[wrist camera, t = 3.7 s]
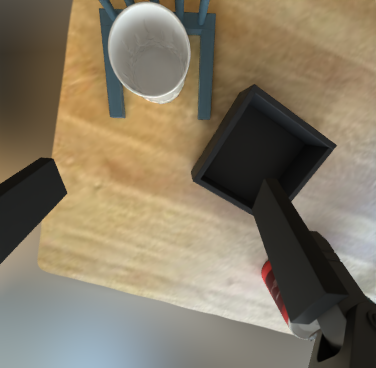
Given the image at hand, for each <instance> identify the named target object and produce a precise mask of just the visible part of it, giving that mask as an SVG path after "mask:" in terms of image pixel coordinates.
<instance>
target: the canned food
mask: <svg viewBox="0 0 376 368" xmlns="http://www.w3.org/2000/svg"><path fill="white" fill-rule="evenodd" d="M262 278H263V280H264V282H265V284H266V286H267V288H268V290H269V292H270V294H271V295H272V297H273V299H274V301H275V303H276V305H277V307H278V309H279V310H280V312H281V314H282V316H283V318H284V320H285V322H286V323H287V325H288V327H289V329H290V330H291V332H292V333H293V334H294V335H295V336H296V337H298V338H301V339H305V340H309V339H308V338H309V336H310V335H311V334H312V333H314V332H315V331H317V330H318V329H320V326H319V324H318V321H317V319H316V320H315V321H314V322H312V323H311V324H309V325H306V324H295V323H290V320H289V317H288V314H287V311H286V308H285V305H284V302H283V299H282V297H281V294H280V291H279V288H278V285H277V282H276V279H275V276H274V273H273V270H272V267H271V264H270V262H269V261H267V262H266V263H265V264H264V266H263V268H262ZM315 339H316V338H315ZM313 340H314V339H313Z"/></svg>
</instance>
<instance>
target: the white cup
mask: <svg viewBox="0 0 376 368" xmlns="http://www.w3.org/2000/svg"><path fill="white" fill-rule="evenodd" d="M108 54H109V59H110V63H111V66H112V68H113V70H114V72H115V74H116V76H117V77H118V79H119V80H120V81H121V83H122V84H123V85H124V86H125V87H126V88H128V89H129V90H130V91H132V92H133V93H135V94H137V95H139V96H141V97H142V98H144V99H146V100H149V101H151V102H155V103H159V104H164V103H169V102H171V101H172V100H174V99H175V98H176V97H178V95H179V93H180V91H181V90H182V88H183V85H184V82H185V79H186V75H187V71H188V68H189V63H190V43H189V39H188V35H187V33H186V30H185V28H184V26H183V24H182V23H181V21H180V20H179V19H178V17H177V16H176V15H175V14H174V13H173V12H172V11H170V10H169V9H168V8H166V7H164V6H163V5H160V4H158V3H154V2H138V3H135V4H132V5H130V6H128V7H127V8H125V9H124V10H123V11H122V12H121V13H120V14H119V15H118V16H117V18H116V19H115V21H114V23H113V25H112V27H111V30H110V33H109V38H108Z"/></svg>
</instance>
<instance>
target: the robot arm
mask: <svg viewBox="0 0 376 368" xmlns="http://www.w3.org/2000/svg"><path fill="white" fill-rule="evenodd" d="M66 194H67V191H66V188H65V186H64V184H63V181H62V179H61V176H60V174H59V171H58V169H57V166H56V164H55V162H54V159H52V158H39V159H38V160H36V161H35V162H33V163H32V164H30V165H29V166H27V167H26V168H24V169H23V170H21V171H19V172H18V173H16V174H15V175H13V176H12V177H10V178H9V179H7V180H5V181H4V182H2V183H1V184H0V264H1V263H2V262H3V261H4V260H5V258H6V257H8V255H9V254H10V253H11V252H12V251H13V250H14V249H15V248H16V247H17V246H18V245H19V244H20V243H21V242H22V241H23V240H24V238H26V236H27V235H28V234H29V233H30V232H31V231H32V230H33V229H34V228H35V227H36V226H37V225H38V224H39V223H40V222H41V221H42V220H43V219H44V217H45V216H46V215H47V214H48V213H49V212H50V211H51V210H52V209H53V208H54V207H55V206H56V205H57V204H58V203H59V202H60V201H61V200H62V199H63V197H64V196H65V195H66ZM252 212H253V215H254V218H255V221H256V224H257V226H258V229H259V232H260V235H261V238H262V241H263V244H264V247H265V250H266V253H267V256H268V259H269V262H270V264H271V267H272V270H273V273H274V276H275V279H276V282H277V285H278V288H279V291H280V294H281V297H282V299H283V302H284V305H285V308H286V311H287V314H288V317H289V320H290V323H295V324H306V325H309V324H311V323H312V322H314V321H315V320H316V319H317V321H318V324H319V326H320V329H318V330H317V331H315V332H314V333H312V334H311V335H310V336H309V338H308V339H309V340H311V341H312V340H313V339H315V338H316V339H315V343H314V347H313V351H312V355H311V359H310V363H309V367H308V368H376V304H374V303H371V302H370V301H369V300H368V299H367V298H366V296H365V295H364V293H363V292H362V291H361V289H360V288H359V286H358V285H357V283H356V282H355V280H354V279H353V278H352V276H351V275H350V273H349V272H348V270H347V269H346V267H345V266H344V264H343V263H342V262H340V259H339V257H338V256H337V254H336V253H334V250H333V249H332V247H331V246H330V244H329V243H328V241H327V240H326V239H325V238H324V237H322V236H321V235H320V234H319V233H318V232H317V231H309V230H308V228H307V226H306V225H305V223H304V222H303V220H302V218H301V217H300V215H299V214H298V212H297V210H296V209H295V207H294V206H293V204H292V202H291V201H290V199H289V198H288V196H287V195H286V193H285V191H284V190H283V188H282V187H281V185H280V183H279V182H278V180H277V179H271V178H264V180H263V183H262V185H261V188H260V191H259V193H258V196H257V198H256V201H255V203H254V206H253V208H252Z"/></svg>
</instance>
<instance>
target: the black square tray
mask: <svg viewBox="0 0 376 368" xmlns="http://www.w3.org/2000/svg"><path fill="white" fill-rule="evenodd" d="M336 146H337V145H336V144H334V143H333V142H332V141H330V140H329V139H328V138H326V137H325V136H324V135H322V134H321V133H320V132H318V131H317V130H316V129H314V128H313V127H312V126H310V125H309V124H308V123H306V122H305V121H303V120H302V119H301V118H299V117H298V116H297V115H295V114H294V113H293V112H291V111H290V110H289V109H287V108H286V107H285V106H283V105H282V104H281V103H279V102H278V101H277V100H275V99H274V98H273V97H271V96H270V95H269V94H267V93H266V92H264V91H263V90H262V89H260V88H259V87H258V86H256V85H255V84H254V85H252V86H250V87H249V88H247V89H245V90H244V91H242V92H240V93H239V95H238V96H237V98H236V100H235V101H234V103H233V105H232V106H231V108H230V109H229V111H228V113H227V114H226V116H225V117H224V119H223V121H222V122H221V124H220V126H219V127H218V129H217V130H216V132H215V134H214V135H213V137H212V138H211V140H210V142H209V143H208V145H207V146H206V148H205V150H204V151H203V153H202V155H201V156H200V158H199V159H198V161H197V163H196V164H195V166H194V167H193V169H192V171H191V175H192V179H193V182H195V183H197V184H199V185H200V186H202V187H204V188H206V189H207V190H209V191H211V192H213V193H214V194H216V195H218V196H220V197H221V198H223V199H225V200H227V201H228V202H230V203H232V204H234V205H235V206H237V207H239V208H241V209H242V210H244V211H246V212H248V213H249V214H251V215H253V212H252V208H253V206H254V203H255V201H256V198H257V196H258V193H259V191H260V188H261V185H262V183H263V180H264V178H271V179H277V180H278V182H279V183H280V185H281V187H282V188H283V190H284V191H285V193H286V195H287V196H288V198H289V199H290V201H292V200H293V199H294V198H295V196H296V195H297V194H298V193H299V192H300V190H301V189H302V188H303V187H304V185H305V184H306V183H307V182H308V181H309V179H310V178H311V177H312V176H313V174H314V173H315V172H316V171H317V169H318V168H319V167H320V166H321V165H322V163H323V162H324V161H325V160H326V158H327V157H328V156H329V155H330V154H331V152H332V151H333V150H334V149H335V147H336ZM253 216H254V215H253Z"/></svg>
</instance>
